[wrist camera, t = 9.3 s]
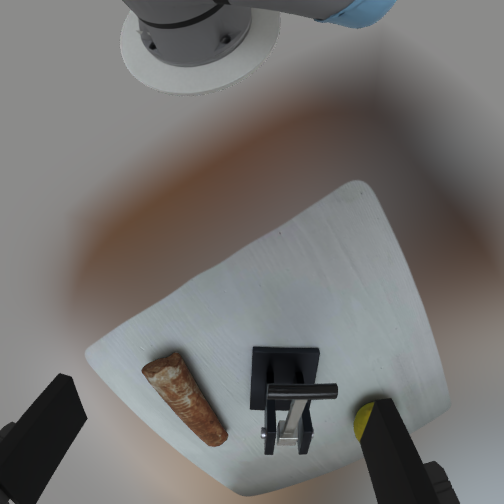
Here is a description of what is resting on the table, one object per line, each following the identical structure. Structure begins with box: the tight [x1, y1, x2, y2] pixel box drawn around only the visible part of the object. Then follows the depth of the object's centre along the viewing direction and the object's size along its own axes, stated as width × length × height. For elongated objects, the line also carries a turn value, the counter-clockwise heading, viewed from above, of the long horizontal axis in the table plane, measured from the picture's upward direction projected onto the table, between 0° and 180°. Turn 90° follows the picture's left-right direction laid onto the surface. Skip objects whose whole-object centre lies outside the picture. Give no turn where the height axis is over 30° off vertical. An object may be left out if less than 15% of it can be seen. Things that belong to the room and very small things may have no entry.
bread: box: [141, 352, 228, 447], centre depth 39 cm, size 6×19×6 cm, turn 21°
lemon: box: [354, 402, 374, 443], centre depth 38 cm, size 11×8×8 cm
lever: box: [267, 383, 338, 445], centre depth 27 cm, size 13×6×2 cm, turn 178°
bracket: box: [250, 347, 320, 455], centre depth 35 cm, size 11×9×13 cm
